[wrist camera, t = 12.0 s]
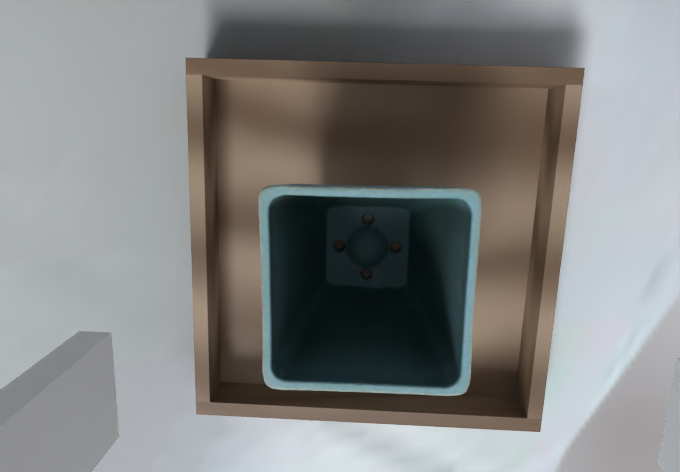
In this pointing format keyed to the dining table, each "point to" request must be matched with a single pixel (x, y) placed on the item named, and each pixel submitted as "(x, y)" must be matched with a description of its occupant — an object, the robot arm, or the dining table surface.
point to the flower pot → (368, 287)
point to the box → (372, 170)
